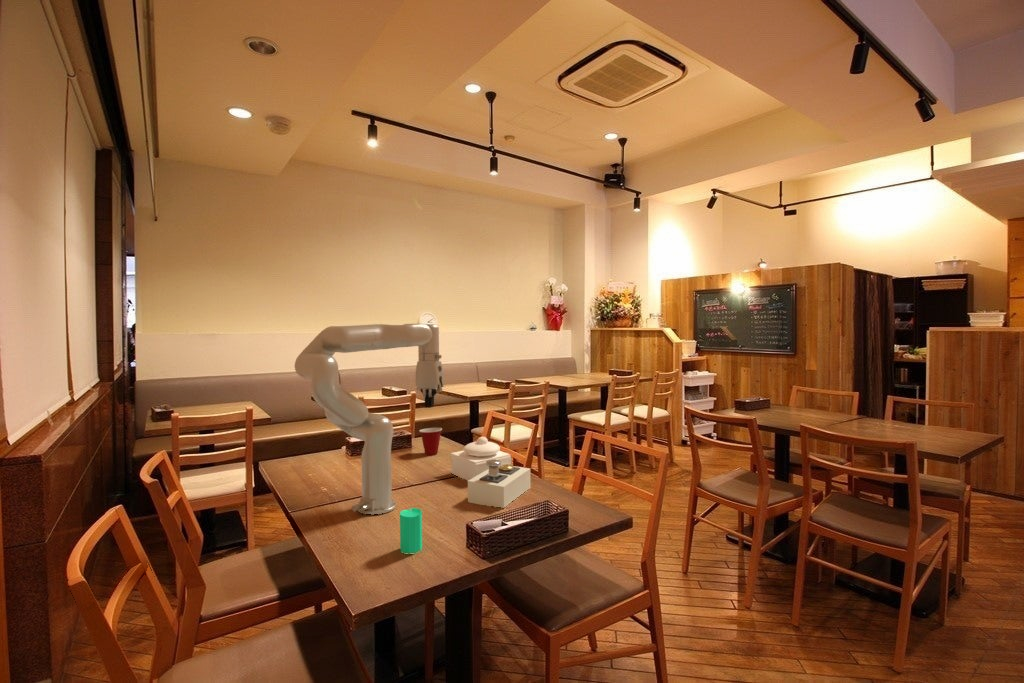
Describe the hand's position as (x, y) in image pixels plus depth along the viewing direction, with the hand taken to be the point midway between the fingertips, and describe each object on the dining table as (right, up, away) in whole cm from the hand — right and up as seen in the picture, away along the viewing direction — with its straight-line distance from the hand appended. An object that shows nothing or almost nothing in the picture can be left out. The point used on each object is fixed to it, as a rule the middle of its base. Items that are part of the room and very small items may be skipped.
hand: (429, 407), depth 177 cm
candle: (+3, -33, -46) cm, 56 cm away
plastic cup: (-8, -29, +51) cm, 59 cm away
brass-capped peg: (+29, -30, 0) cm, 41 cm away
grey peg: (+24, -26, -9) cm, 37 cm away
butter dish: (+18, -31, +19) cm, 40 cm away
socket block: (+26, -31, -4) cm, 41 cm away
